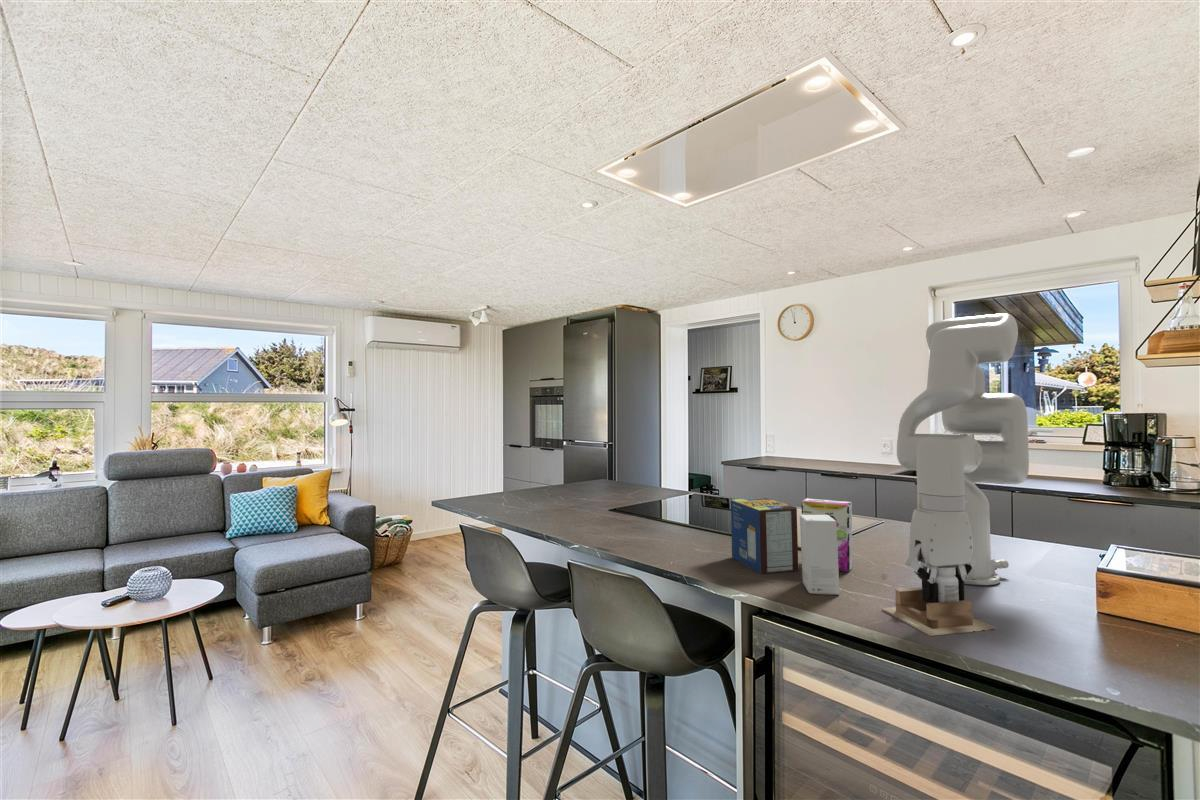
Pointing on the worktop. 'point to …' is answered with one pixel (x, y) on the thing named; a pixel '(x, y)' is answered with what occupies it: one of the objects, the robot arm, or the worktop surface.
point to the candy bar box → (843, 519)
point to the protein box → (764, 535)
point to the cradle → (934, 614)
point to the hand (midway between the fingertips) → (943, 600)
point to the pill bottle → (947, 584)
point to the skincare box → (819, 554)
